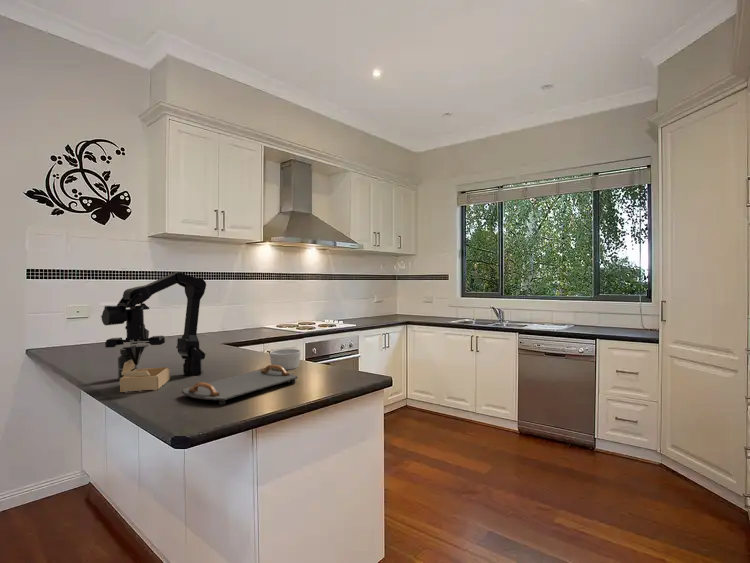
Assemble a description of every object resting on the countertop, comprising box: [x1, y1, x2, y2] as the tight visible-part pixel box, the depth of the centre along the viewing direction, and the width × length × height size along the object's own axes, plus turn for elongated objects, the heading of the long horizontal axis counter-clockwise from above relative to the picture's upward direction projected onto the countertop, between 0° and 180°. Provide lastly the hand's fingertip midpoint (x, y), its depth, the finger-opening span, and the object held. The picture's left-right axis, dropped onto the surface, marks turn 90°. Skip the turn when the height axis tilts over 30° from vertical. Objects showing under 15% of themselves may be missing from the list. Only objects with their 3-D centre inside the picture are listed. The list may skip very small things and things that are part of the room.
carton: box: [119, 366, 171, 393], centre depth 165 cm, size 12×16×5 cm
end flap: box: [121, 370, 150, 377], centre depth 154 cm, size 8×1×4 cm
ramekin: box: [269, 348, 302, 371], centre depth 192 cm, size 13×13×7 cm
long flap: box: [122, 359, 135, 375], centre depth 163 cm, size 1×12×4 cm, turn 12°
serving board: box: [181, 364, 299, 406], centre depth 156 cm, size 39×23×6 cm, turn 146°
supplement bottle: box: [117, 348, 138, 381], centre depth 178 cm, size 7×7×12 cm
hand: (136, 364), depth 164 cm, fingers closed
